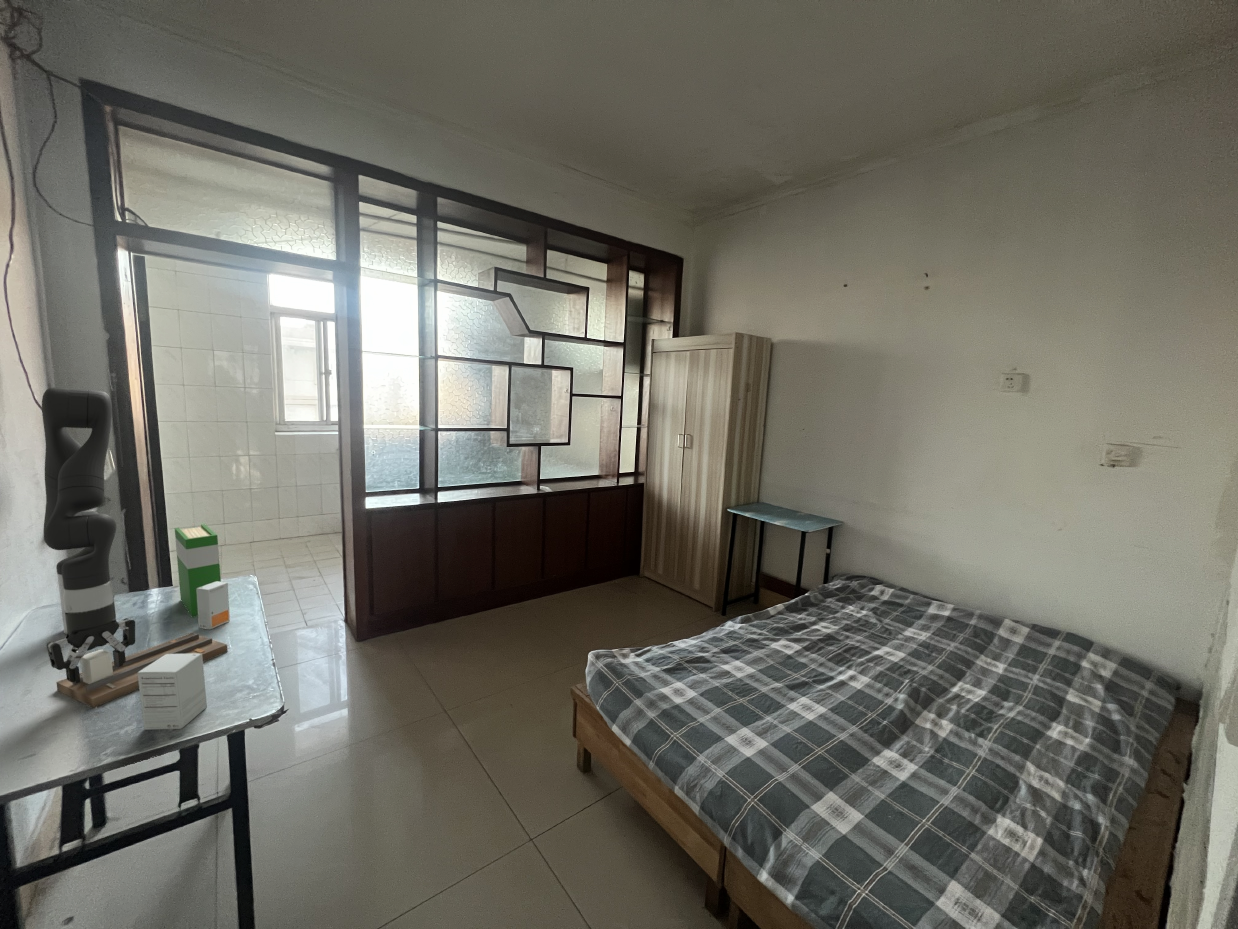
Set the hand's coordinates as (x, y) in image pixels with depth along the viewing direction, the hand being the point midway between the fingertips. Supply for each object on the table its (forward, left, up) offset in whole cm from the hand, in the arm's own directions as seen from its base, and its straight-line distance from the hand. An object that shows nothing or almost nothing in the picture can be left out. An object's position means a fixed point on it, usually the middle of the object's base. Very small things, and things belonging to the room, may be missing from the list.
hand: (97, 673), depth 111 cm
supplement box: (+27, +1, -4) cm, 27 cm away
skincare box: (-12, +30, -4) cm, 33 cm away
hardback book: (-30, +36, -4) cm, 48 cm away
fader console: (0, +9, -4) cm, 10 cm away
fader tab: (0, 0, -1) cm, 1 cm away
